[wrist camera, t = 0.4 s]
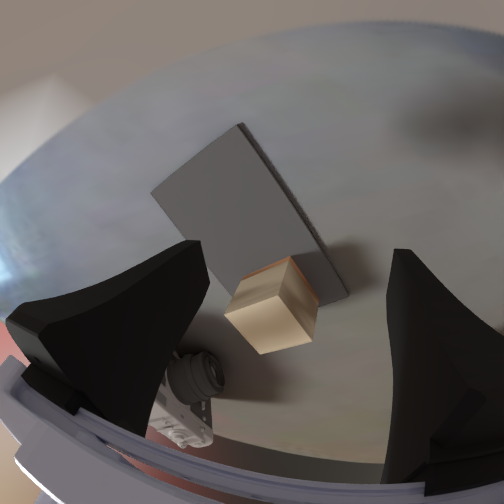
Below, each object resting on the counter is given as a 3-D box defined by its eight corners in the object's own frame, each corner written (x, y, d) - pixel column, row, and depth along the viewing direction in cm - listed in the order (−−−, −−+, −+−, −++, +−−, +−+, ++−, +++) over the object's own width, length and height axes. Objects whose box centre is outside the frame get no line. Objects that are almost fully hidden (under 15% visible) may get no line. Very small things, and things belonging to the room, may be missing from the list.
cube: (319, 299, 23) (312, 340, 19) (273, 314, 25) (260, 354, 22) (290, 255, 22) (277, 295, 18) (243, 276, 24) (224, 314, 20)
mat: (348, 294, 22) (348, 296, 22) (258, 324, 27) (257, 326, 27) (237, 124, 18) (236, 124, 18) (152, 191, 22) (150, 192, 22)
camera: (188, 402, 38) (189, 462, 29) (119, 328, 31) (98, 396, 22) (246, 383, 38) (257, 447, 29) (184, 300, 31) (179, 372, 22)
